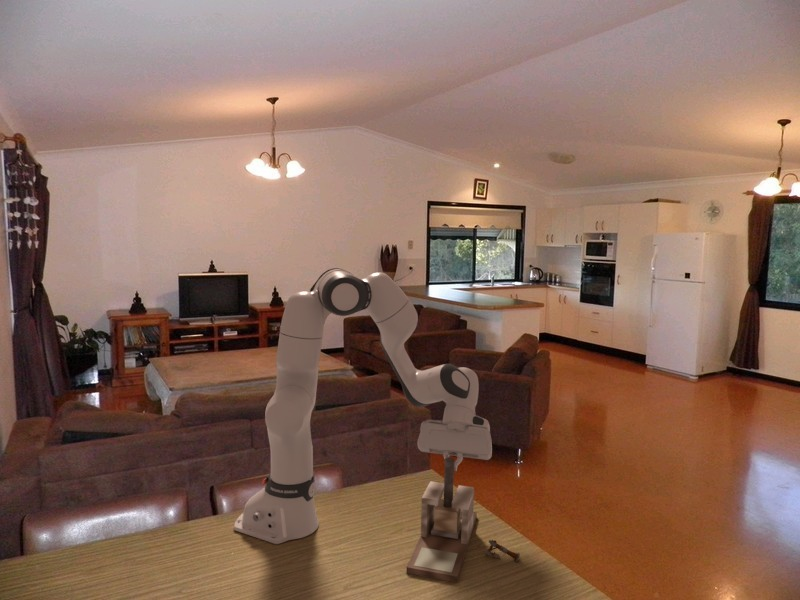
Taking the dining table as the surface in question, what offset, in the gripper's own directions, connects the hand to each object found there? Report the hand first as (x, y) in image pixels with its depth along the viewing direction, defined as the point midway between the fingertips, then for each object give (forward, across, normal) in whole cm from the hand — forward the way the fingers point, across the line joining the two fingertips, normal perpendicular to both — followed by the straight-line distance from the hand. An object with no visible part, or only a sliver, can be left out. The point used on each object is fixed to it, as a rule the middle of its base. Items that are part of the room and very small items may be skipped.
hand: (450, 470), depth 148 cm
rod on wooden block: (+13, 0, +9) cm, 15 cm away
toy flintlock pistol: (+19, +15, +6) cm, 25 cm away
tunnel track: (+16, 0, +8) cm, 18 cm away
